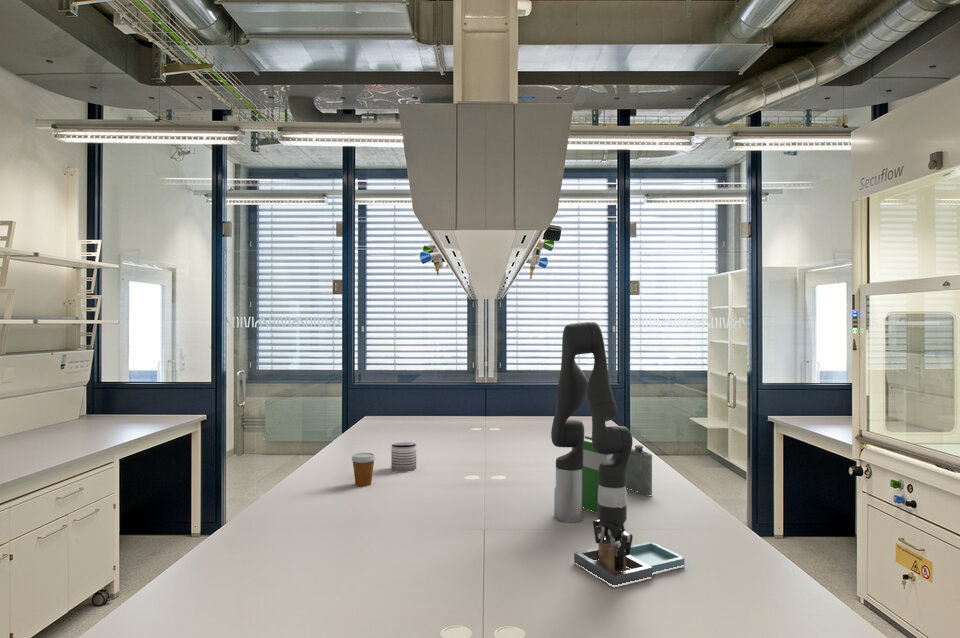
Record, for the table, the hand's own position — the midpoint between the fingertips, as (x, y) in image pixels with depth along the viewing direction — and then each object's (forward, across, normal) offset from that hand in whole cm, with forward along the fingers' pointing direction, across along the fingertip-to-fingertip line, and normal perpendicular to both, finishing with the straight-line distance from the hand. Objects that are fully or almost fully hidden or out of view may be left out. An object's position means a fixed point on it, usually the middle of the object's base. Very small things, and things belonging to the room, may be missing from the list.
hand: (612, 565), depth 155 cm
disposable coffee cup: (+2, -111, -38) cm, 117 cm away
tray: (+1, 0, +13) cm, 13 cm away
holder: (+1, 0, 0) cm, 1 cm away
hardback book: (+2, -45, +29) cm, 54 cm away
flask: (+2, -55, +57) cm, 79 cm away
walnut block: (+1, 0, 0) cm, 1 cm away
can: (+2, -128, -15) cm, 129 cm away
